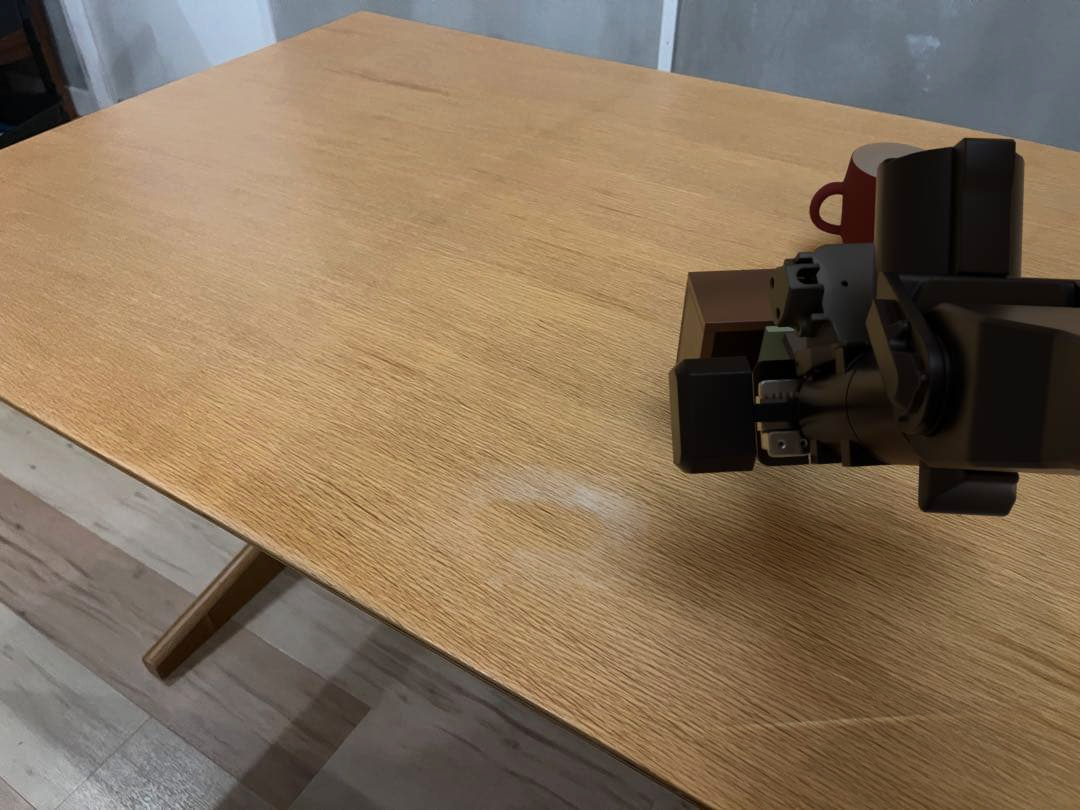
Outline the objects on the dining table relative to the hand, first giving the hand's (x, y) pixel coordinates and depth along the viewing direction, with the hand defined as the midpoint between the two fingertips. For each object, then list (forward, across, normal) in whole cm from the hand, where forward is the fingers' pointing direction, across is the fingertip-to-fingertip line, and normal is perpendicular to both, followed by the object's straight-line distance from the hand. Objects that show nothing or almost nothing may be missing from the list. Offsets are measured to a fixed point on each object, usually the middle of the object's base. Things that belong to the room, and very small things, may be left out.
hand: (790, 414), depth 53 cm
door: (+5, -2, +4) cm, 6 cm away
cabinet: (+10, -2, 0) cm, 10 cm away
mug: (+25, -16, -15) cm, 33 cm away
